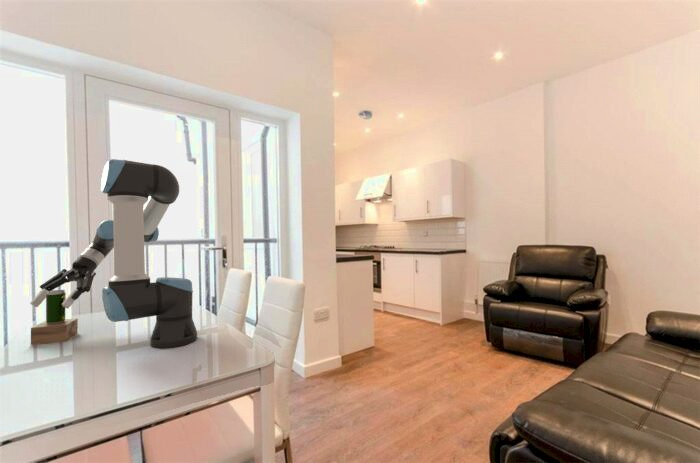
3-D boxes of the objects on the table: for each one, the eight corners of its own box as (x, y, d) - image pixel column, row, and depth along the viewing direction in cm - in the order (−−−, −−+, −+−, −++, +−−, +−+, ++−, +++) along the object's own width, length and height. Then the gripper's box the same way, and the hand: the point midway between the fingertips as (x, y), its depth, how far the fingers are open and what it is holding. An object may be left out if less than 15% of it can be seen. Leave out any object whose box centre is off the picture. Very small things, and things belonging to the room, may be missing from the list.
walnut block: (66, 341, 118) (66, 324, 118) (30, 344, 114) (30, 327, 114) (77, 333, 127) (77, 318, 127) (45, 336, 123) (45, 321, 123)
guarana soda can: (46, 325, 117) (46, 292, 117) (45, 322, 121) (46, 290, 121) (65, 322, 121) (65, 290, 121) (65, 320, 125) (65, 289, 125)
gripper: (120, 268, 134) (85, 312, 119) (68, 267, 138) (28, 310, 123) (109, 256, 129) (71, 300, 114) (55, 255, 133) (12, 299, 118)
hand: (49, 305), depth 118 cm, fingers open, 13 cm apart
